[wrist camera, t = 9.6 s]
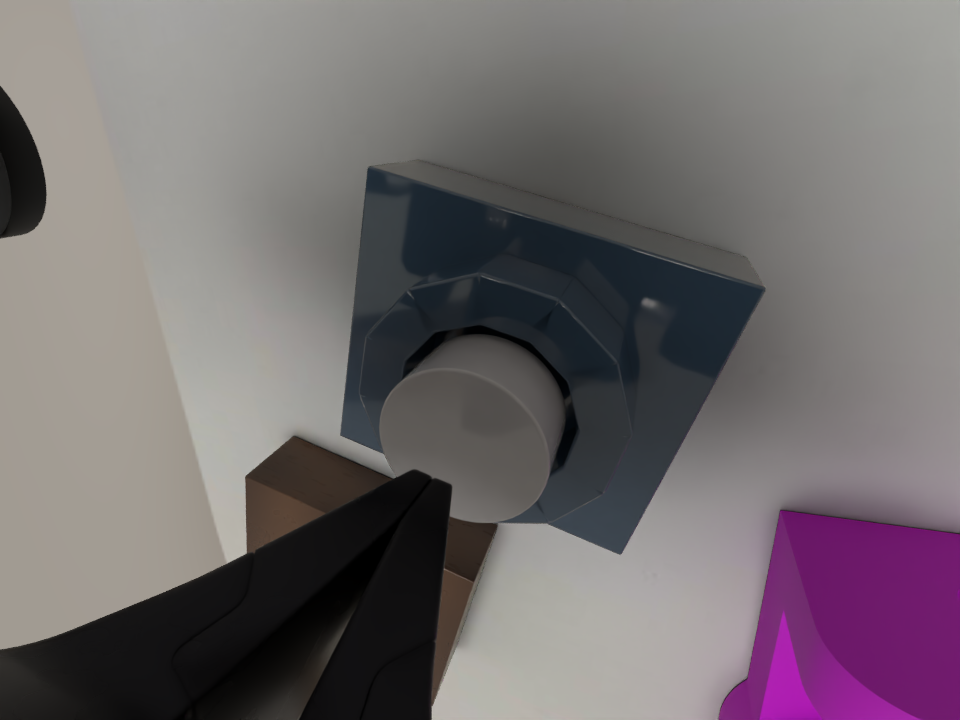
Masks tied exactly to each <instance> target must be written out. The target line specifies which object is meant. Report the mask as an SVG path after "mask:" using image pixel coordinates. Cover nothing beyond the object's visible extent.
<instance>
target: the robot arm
mask: <svg viewBox="0 0 960 720" xmlns="http://www.w3.org/2000/svg"><path fill="white" fill-rule="evenodd" d="M452 488H453V487H452V485H451V484H450V483H447V482H445V481H443V480H440V479H438V478H433V479H432V477H431V476H430V475H429V474H426V473H424V472H422V471H419V470H417V469H412V470H410V471H408V472H406V473H404V474H402V475H400V476H398V477H396V478H394V479H392V480H390V481H388V482H386V483H384V484H382V485H380V486H379V487H377V488H375V489H373V490H371V491H369V492H367V493H365V494H363V495H361V496H359V497H357V498H355V499H353V500H351V501H349V502H347V503H345V504H343V505H341V506H339V507H338V508H336V509H334V510H332V511H330V512H328V513H326V514H324V515H322V516H320V517H318V518H316V519H314V520H312V521H310V522H308V523H306V524H304V525H302V526H300V527H298V528H296V529H295V530H293V531H291V532H289V533H287V534H285V535H283V536H281V537H279V538H277V539H275V540H273V541H271V542H269V543H267V544H265V545H263V546H261V547H259V548H257V549H256V550H255V553H254V552H249V553H247V554H245V555H243V556H241V557H239V558H237V559H236V560H234V561H232V562H230V563H228V564H225V565H223V566H221V567H219V568H217V569H215V570H213V571H211V572H209V573H207V574H205V575H203V576H201V577H199V578H196V579H194V580H192V581H189V582H187V583H185V584H182V585H180V586H178V587H175V588H173V589H171V590H169V591H166V592H164V593H161V594H159V595H157V596H154V597H151V598H149V599H146V600H144V601H142V602H139V603H137V604H134V605H132V606H129V607H127V608H124V609H122V610H119V611H117V612H115V613H112V614H110V615H107V616H105V617H102V618H100V619H97V620H95V621H92V622H90V623H87V624H85V625H83V626H80V627H77V628H75V629H73V630H70V631H67V632H65V633H62V634H59V635H57V636H54V637H51V638H48V639H44V640H41V641H38V642H35V643H30V644H27V645H23V646H18V647H13V648H8V649H2V650H0V720H297V719H298V718H299V716H300V715H301V716H300V718H299V720H432V689H433V675H434V663H435V654H436V640H437V632H438V623H439V613H440V604H441V594H442V585H443V575H444V565H445V556H446V546H447V537H448V527H449V518H450V508H451V499H452ZM301 713H302V714H301Z"/></svg>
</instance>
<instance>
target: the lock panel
mask: <svg viewBox="0 0 960 720" xmlns="http://www.w3.org/2000/svg"><path fill="white" fill-rule="evenodd" d="M390 480H392V479H390V478H388V477H386V476H383V475H381V474H379V473H377V472H374V471H372V470H370V469H367V468H365V467H363V466H360V465H358V464H356V463H354V462H351V461H349V460H347V459H344V458H342V457H340V456H338V455H335V454H333V453H331V452H328V451H326V450H324V449H322V448H319V447H317V446H315V445H312V444H310V443H308V442H305V441H303V440H301V439H299V438H296V437H294V436H293V437H292V438H291V439H289V440H288V441H287V442H286V443H285V444H283V445H282V446H281V447H280V448H279V449H277V450H276V451H275V452H274V453H273V454H271V455H270V456H269V457H268V458H267V459H265V460H264V461H263V462H262V463H261V464H259V465H258V466H257V467H256V468H255V469H253V470H252V471H251V472H250V473H249V474H247V475H246V477H245V482H246V533H247V553H249V552H254V553H255V550H256V549H257V548H259V547H261V546H263V545H265V544H267V543H269V542H271V541H273V540H275V539H277V538H279V537H281V536H283V535H285V534H287V533H289V532H291V531H293V530H295V529H296V528H298V527H300V526H302V525H304V524H306V523H308V522H310V521H312V520H314V519H316V518H318V517H320V516H322V515H324V514H326V513H328V512H330V511H332V510H334V509H336V508H338V507H339V506H341V505H343V504H345V503H347V502H349V501H351V500H353V499H355V498H357V497H359V496H361V495H363V494H365V493H367V492H369V491H371V490H373V489H375V488H377V487H379V486H380V485H382V484H384V483H386V482H388V481H390ZM497 527H498V526H497V525H496V524H493V523H476V522H469V521H463V520H459V519H456V518H453V517H450V518H449V527H448V537H447V546H446V556H445V565H444V575H443V585H442V594H441V604H440V613H439V623H438V632H437V640H436V654H435V663H434V675H433V689H432V706H433V704H434V701H435V699H436V696H437V694H438V691H439V689H440V686H441V684H442V681H443V679H444V676H445V674H446V671H447V669H448V666H449V664H450V661H451V659H452V656H453V654H454V651H455V649H456V646H457V643H458V640H459V638H460V635H461V632H462V629H463V626H464V623H465V620H466V617H467V614H468V611H469V609H470V606H471V603H472V600H473V597H474V594H475V591H476V588H477V585H478V582H479V579H480V577H481V574H482V571H483V568H484V565H485V562H486V559H487V556H488V553H489V550H490V548H491V545H492V542H493V539H494V536H495V533H496V530H497Z"/></svg>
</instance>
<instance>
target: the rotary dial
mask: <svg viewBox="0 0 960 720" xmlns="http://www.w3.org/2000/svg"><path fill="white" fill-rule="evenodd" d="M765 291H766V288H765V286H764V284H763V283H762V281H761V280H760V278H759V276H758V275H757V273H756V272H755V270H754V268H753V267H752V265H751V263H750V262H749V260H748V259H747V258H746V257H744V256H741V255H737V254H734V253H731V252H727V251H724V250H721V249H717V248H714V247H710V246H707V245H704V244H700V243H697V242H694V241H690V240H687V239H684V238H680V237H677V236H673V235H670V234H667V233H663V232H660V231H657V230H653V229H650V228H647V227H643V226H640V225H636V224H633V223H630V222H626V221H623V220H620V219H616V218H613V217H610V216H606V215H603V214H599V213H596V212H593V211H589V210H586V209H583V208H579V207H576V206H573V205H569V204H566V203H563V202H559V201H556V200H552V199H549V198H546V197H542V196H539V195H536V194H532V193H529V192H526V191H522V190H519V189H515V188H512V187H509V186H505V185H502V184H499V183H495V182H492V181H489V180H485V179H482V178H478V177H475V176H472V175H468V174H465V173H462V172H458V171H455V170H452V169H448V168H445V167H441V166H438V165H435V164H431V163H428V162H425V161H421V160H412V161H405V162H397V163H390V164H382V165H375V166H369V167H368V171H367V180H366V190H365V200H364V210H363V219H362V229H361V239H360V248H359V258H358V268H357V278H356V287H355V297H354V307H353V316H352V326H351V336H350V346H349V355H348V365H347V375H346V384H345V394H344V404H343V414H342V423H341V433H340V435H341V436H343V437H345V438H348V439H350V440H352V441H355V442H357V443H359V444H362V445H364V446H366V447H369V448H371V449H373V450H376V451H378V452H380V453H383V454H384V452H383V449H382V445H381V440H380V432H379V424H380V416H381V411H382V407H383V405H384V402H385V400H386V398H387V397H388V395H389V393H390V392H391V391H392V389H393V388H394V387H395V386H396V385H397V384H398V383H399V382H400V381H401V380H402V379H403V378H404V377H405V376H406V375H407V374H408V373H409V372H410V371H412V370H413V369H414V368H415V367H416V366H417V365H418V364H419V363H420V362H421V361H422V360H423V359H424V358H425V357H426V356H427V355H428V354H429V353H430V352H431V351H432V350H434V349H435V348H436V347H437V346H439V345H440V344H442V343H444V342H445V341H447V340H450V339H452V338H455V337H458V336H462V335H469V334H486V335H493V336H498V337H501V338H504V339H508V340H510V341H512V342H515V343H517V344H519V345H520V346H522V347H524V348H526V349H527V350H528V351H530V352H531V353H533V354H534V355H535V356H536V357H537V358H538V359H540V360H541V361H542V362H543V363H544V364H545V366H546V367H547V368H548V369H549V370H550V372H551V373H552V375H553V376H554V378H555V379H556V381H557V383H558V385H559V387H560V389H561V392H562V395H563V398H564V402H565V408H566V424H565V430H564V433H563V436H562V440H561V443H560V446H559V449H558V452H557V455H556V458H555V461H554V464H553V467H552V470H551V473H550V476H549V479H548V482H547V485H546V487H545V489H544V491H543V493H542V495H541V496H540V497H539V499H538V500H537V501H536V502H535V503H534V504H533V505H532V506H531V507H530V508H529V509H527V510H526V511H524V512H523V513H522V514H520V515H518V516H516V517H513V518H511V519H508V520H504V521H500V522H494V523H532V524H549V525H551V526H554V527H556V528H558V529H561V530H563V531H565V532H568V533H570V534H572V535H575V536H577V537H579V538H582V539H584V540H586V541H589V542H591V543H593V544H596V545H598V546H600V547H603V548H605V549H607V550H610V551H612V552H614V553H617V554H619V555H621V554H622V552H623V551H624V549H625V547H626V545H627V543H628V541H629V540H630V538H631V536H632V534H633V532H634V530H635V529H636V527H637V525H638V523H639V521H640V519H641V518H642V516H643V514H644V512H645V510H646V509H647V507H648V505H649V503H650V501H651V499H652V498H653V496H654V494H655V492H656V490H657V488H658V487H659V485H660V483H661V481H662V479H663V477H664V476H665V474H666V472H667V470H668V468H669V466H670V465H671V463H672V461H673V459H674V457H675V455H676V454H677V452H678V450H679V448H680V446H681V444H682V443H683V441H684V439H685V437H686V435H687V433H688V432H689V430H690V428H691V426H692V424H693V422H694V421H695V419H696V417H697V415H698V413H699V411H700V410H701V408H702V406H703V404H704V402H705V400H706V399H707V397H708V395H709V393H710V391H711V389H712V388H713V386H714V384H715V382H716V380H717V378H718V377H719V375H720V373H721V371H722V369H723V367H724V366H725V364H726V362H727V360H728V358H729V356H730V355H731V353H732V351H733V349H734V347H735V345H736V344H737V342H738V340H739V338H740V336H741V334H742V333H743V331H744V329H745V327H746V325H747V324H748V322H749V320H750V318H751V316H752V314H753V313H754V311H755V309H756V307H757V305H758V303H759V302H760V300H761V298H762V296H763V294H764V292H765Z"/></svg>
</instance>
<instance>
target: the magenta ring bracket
mask: <svg viewBox="0 0 960 720" xmlns="http://www.w3.org/2000/svg"><path fill="white" fill-rule="evenodd" d="M719 720H960V534H954V533H947V532H939V531H932V530H924V529H917V528H909V527H902V526H894V525H887V524H879V523H872V522H864V521H857V520H849V519H842V518H834V517H827V516H820V515H812V514H805V513H797V512H790V511H782V510H780V515H779V520H778V525H777V530H776V535H775V540H774V546H773V551H772V556H771V561H770V566H769V571H768V576H767V581H766V587H765V592H764V597H763V602H762V607H761V612H760V617H759V622H758V628H757V633H756V638H755V643H754V648H753V653H752V658H751V663H750V669H749V674H748V679H747V680H745V681H744V682H742V683H741V684H739V685H738V686H737V687H736V688H734V689H733V690H732V691H731V693H730V694H729V695H728V696H727V698H726V699H725V701H724V703H723V705H722V707H721V710H720V714H719Z"/></svg>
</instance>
